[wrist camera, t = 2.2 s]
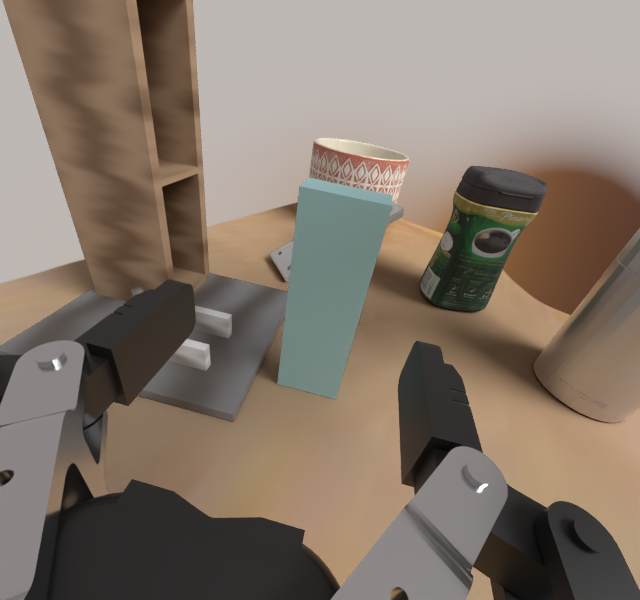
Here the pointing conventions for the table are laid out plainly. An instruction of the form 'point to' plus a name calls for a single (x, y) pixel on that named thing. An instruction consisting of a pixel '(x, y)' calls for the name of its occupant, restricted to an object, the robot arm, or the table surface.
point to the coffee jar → (480, 236)
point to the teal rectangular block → (329, 281)
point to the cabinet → (139, 186)
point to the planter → (359, 165)
